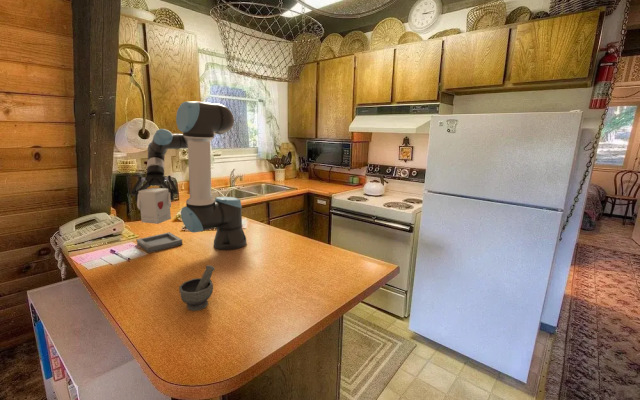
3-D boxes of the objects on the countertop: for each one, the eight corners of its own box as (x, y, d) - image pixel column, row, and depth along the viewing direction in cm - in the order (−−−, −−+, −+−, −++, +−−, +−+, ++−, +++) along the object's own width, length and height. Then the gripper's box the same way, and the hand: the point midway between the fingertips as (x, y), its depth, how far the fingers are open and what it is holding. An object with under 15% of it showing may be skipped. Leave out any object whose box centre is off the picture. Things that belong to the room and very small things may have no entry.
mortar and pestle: (189, 318, 88) (185, 280, 85) (175, 305, 94) (171, 270, 91) (223, 302, 96) (221, 268, 93) (208, 292, 102) (206, 259, 99)
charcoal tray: (182, 244, 144) (182, 239, 143) (148, 253, 133) (147, 247, 132) (170, 236, 154) (169, 232, 153) (137, 244, 143) (136, 239, 142)
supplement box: (158, 224, 136) (154, 192, 132) (141, 222, 138) (137, 190, 134) (171, 218, 144) (168, 188, 141) (155, 217, 146) (152, 187, 143)
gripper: (183, 173, 155) (184, 208, 144) (129, 174, 146) (125, 212, 136) (181, 163, 149) (182, 200, 138) (125, 164, 140) (121, 204, 130)
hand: (154, 206), depth 137 cm, fingers closed on supplement box, 12 cm apart
